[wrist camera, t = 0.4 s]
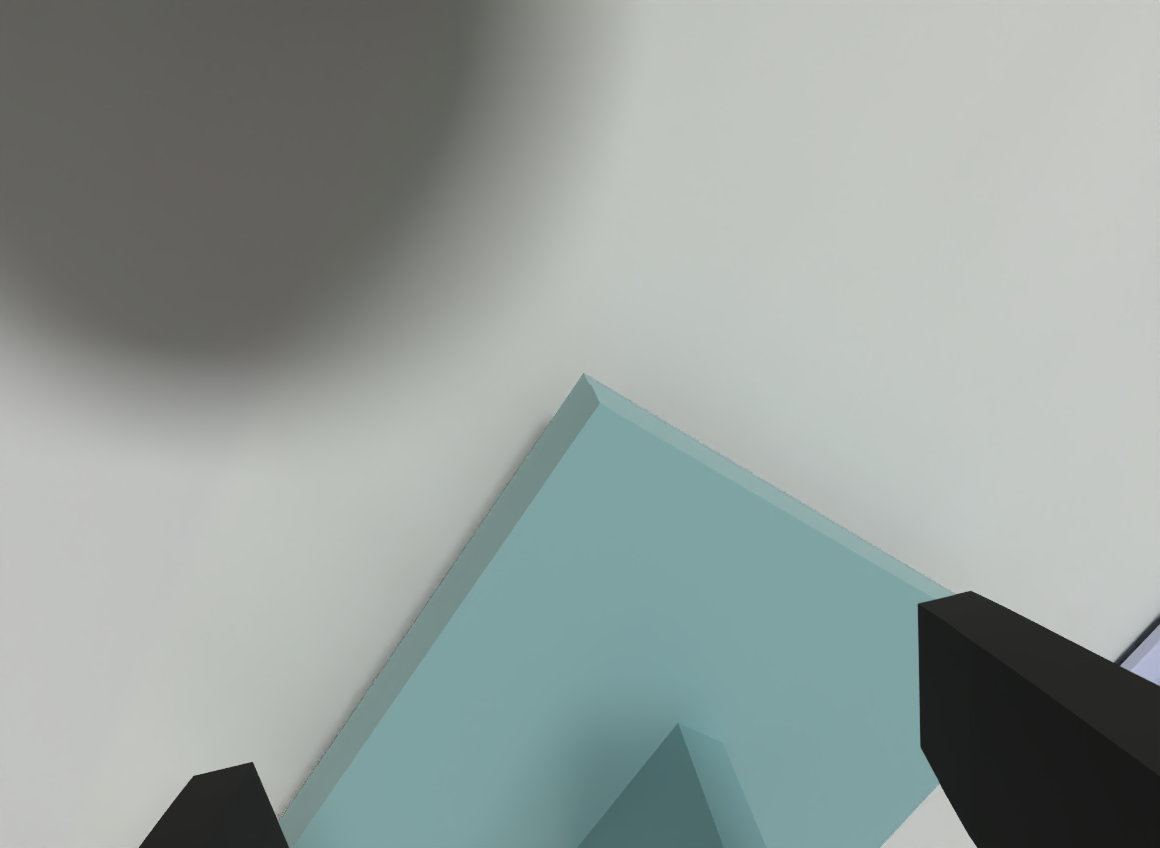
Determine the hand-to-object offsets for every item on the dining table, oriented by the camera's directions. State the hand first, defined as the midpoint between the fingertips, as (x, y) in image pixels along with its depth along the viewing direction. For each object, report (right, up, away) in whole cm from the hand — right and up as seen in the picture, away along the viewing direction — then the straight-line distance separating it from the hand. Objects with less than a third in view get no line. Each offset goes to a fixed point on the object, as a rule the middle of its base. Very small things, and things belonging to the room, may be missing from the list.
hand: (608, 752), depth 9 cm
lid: (+1, -4, +11) cm, 12 cm away
